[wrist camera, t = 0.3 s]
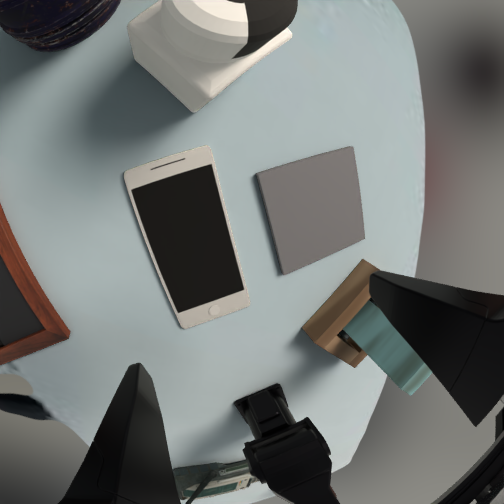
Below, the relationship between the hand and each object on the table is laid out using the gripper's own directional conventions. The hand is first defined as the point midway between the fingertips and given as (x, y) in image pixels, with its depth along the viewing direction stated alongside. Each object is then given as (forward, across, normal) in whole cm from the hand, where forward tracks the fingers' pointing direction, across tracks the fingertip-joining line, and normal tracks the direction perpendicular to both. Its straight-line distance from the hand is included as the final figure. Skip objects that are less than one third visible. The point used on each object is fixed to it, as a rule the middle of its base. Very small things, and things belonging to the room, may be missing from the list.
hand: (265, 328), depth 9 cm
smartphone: (+16, +1, +3) cm, 16 cm away
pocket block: (+15, -14, +18) cm, 27 cm away
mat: (+15, -11, +3) cm, 19 cm away
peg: (+15, -14, +18) cm, 27 cm away
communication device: (+14, +10, +48) cm, 51 cm away
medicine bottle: (+16, -3, -12) cm, 20 cm away
